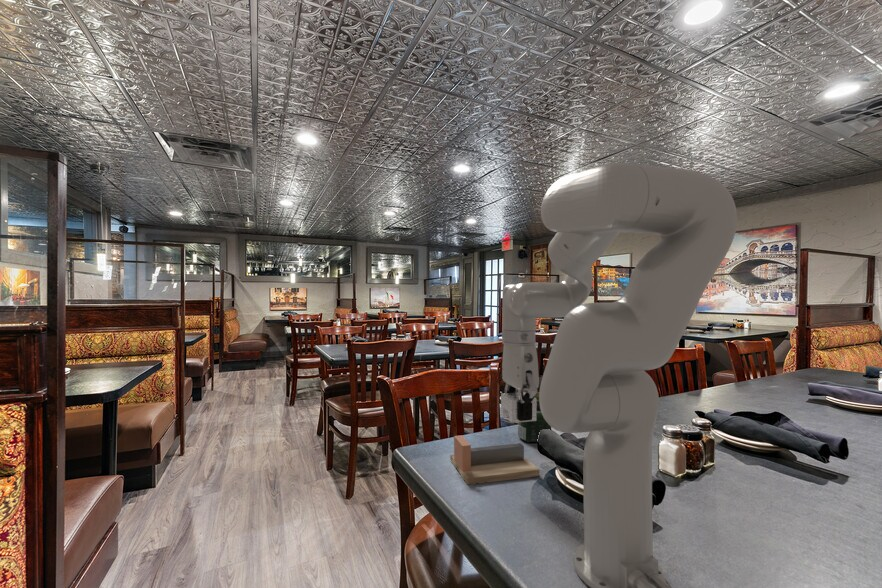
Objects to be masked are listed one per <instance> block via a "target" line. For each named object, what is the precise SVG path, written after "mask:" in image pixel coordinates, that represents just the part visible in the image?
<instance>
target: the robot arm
mask: <svg viewBox="0 0 882 588" xmlns="http://www.w3.org/2000/svg"><path fill="white" fill-rule="evenodd" d="M540 218H541V221H542V224H543V225H544V227H546V229H548V230H549V231H551V232H554V233H555V234H554V237H552V239H551V240H550V242H549V244H548V247H547V255H548V258H549V259H550V261H551V263H552V264H553V265H554V267H555V268H556V269H558V270H559V271H561V272H562V273H563V274H565V275H566V277H565V278H564V279H563V280H562V281H561V282H551V281H550V282H542V281H541V282H540V281H539V282H534V281H533V282H532V281H531V282H529V281H528V282H519V283H516V284H515V283H509V284H507V285H505V286H504V287H503V289H502V307H501V309H502V314H501V315H502V321H501V323H502V329H501V331H502V332H501V333H502V335H501V336H502V337H501V338H502V341H501V343H502V345H503V349H502V362H501V369H502V370H501V372H502V373H501V374H502V375H501V376H502V381H503V385H504V393H516V392H519V398H520V402H518V420H519V421H527V420H532V403H533V401H534V400H533V399H534V397H535V395H536V393H537V388H538V386H539V377H540V376H539V359H538V352H537V351H538V350H537V346H536V319H538V318H540V319H541V318H542V319H543V318H563V319H562V320H561V321H560V324H559V327H558V329H557V332H556V334H555V337H554V341H553V344H552V347H551V350H550V353H549V355H548V358H547V362H546V364H545V365H546V366H545V368H544V371H543V375H542V376H541V377H542V381H541V385H540V392H539V403H540V409H541V412H542V415H543V417H544V419H545V421H546V422H547V423H548V424H549V425H550V426H551V429H552V428H553V429H554V430H555V431H557V432H561V433H566V434H577V433H578V434H579V433H580V434H581V433H588V435H587V438H586V440H585V443H584V447H583V457H582V458H583V459H582V460H583V461H582V462H583V465H582V466H583V467H582V468H583V469H582V472H583V473H582V474H583V475H582V476H583V481H582V482H583V484H582V485H583V543H582V544H581V545H579V546H578V547H577V548H576V549H575V551H574V554H573V567H574V570H575V571H576V574H577V575H578V576H579V578H580V579H581V580H582V581H583V583H585V585H587V586H588V587H589V588H672V585H670V584H668V583H667V580H666V576H665V573H664V571H663V570H662V568H661V567H660V566H659V560H658V559H657V558H655V557H654V542H653V541H654V539H653V538H654V537H653V536H654V534H653V532H654V531H653V525H654V524H653V440H654V433H655V427H656V424H657V423H656V422H657V418H658V413H659V405H660V404H659V403H660V399H659V398H660V397H659V392H658V388H657V385H656V383H655V381H654V380H653V378H652V377H651V376H650V375H649V374H648V373H647V372H646V371H651V370H655V369H659V368H661V367H663V366H664V365H665V364H667V363H668V362H669V360H670V359H671V358H672V356H673V354H674V352H675V351H676V349H677V347H678V345H679V343H680V340H681V338H683V335H684V333H685V331H686V329H687V327H688V325H689V323H690V321H691V319H692V318H693V316H694V312H695V311H696V309H697V307H698V305H699V303H700V300H701V298H702V296H703V294H704V293H705V290H706V288H707V287H708V285H709V284H710V282H711V280H712V278H713V277H714V275H715V274H716V272H717V271H718V269H719V268H720V265H721V264H722V263H723V261H724V259H725V257H726V256H727V254H728V252H729V250H730V249H731V247H732V244H733V241H734V239H735V236H736V232H737V226H738V212H737V207H736V203H735V201H734V197H733V196H732V195H731V192H730V190H728V188H727V187H726V186H725V185H723V183H721V182H720V181H719V180H717V179H715V178H714V177H712V176H709V175H707V174H704V173H701V172H698V171H694V170H688V169H684V168H683V169H682V168H675V167H669V166H667V167H666V166H654V165H647V164H637V163H631V162H611V163H606V164H605V163H604V164H601V165H597V166H593V167H590V168H588V169H584V170H581V171H577V172H573V173H571V174H567V175H564V176H562V177H560V178H559V179H557V180H556V181H555V182H553V183H552V184H551V185H550V186H549V188H548V189H547V190H546V192H545V194H544V196H543V198H542V202H541V205H540ZM621 233H626V234H643V235H659V236H660V240H659V242H658V243H657V244H655V245H654V246H653V247H652V248H651V249H650V250H649V251H648V252H646V253H645V254H644V255H643V256H642V258H641V259H640V260H639V261H638V263H637V264H636V265H635V267H634V269H633V271H631V274H630V277H629V279H628V280H629V281H628V283H627V286H626V287H625V289H624V291H623V293H622V295H621V296H620V298H619V299H617V300H615V301H613V302H589V303H585V301H587V300H588V297H589V295H590V294H591V291H592V289H593V288H592V287H593V282H594V273H593V269H592V266H593V265H594V264H595V263H597V261H598V260H599V258H601V256H602V255H603V254H604V253H605V252H606V251H607V249H608V248H609V247H610V246H611V245H612V244H613V242H614V241H615V240H616V239H617V237H619V235H621ZM523 386H527V388H523ZM524 391H527V392H528V393H525V395H523V392H524Z"/></svg>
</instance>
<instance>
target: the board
mask: <svg viewBox="0 0 882 588" xmlns="http://www.w3.org/2000/svg"><path fill="white" fill-rule="evenodd" d="M449 458H450V460H451V461H452V462H451V461H450V462H451V464H452V463H453V464H454V465H453V464H452V465H453V467H454V468H455V467H456V468H457V469H456V468H455V469H456V471H457V470H458V471H459V472H458V471H457V472H458V473H460V474H461V475H460V474H459V475H460V476H461V478H462V477H463V478H462V479H463V480H465V481H464V482H465V484H466V483H467V484H466V485H467V486H470V485H469V484H471V485H477V484H476V483H479V484H485V482H487V483H493V482H501V481H508V480H517V479H524V478H534V477H540V468H538V467H537V466H536V465H535V464H534V463H532V462H531V461H530V460H529V459H528V458H526V456H524V460H520V461H511V462H502V463H494V464H485V465H476V466H471V471H465V472H463V471H462V470H461V469H460V467H459V466H458V465H457V463H456V462H455V460H454V454H450V456H449Z"/></svg>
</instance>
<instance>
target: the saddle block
mask: <svg viewBox="0 0 882 588" xmlns="http://www.w3.org/2000/svg"><path fill="white" fill-rule="evenodd" d="M523 395H525V392H523ZM533 400H534V401H533V403H532V420H527V421H519V420H518V402H520V398H519V392H518V391H517V392H516V393H505V392H504V393H500V415H501V416H502V417H509V418H508V419H509V420H508V421H509V422H510V423H512V424H515V423H519V422H528V421H536V409H537V399H536V398H535V397H534V399H533Z"/></svg>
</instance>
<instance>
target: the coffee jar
mask: <svg viewBox="0 0 882 588" xmlns="http://www.w3.org/2000/svg"><path fill="white" fill-rule="evenodd" d="M542 377H543V376H539V386H538V388H537V393H536V395H535V398H536V399H537V409H536V421H528V422H518V431H517V435H518V438H519V439H520V438H521V439H522V441H523V440H524V441H523V442H526V441H527V442H526V443H529V442H537V439H538V435H539V432H540V430H542V429H550V430H551V431H552V427H551V426H550V425H549V424H548V423H547V422H546V421H545V419H544V417H543V415H542V412H541V409H540V403H539V392H540V385H541V381H542ZM523 388H527V386H523ZM524 392H525V393H528V392H527V391H524ZM521 439H520V440H521ZM537 443H538V442H537Z"/></svg>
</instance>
